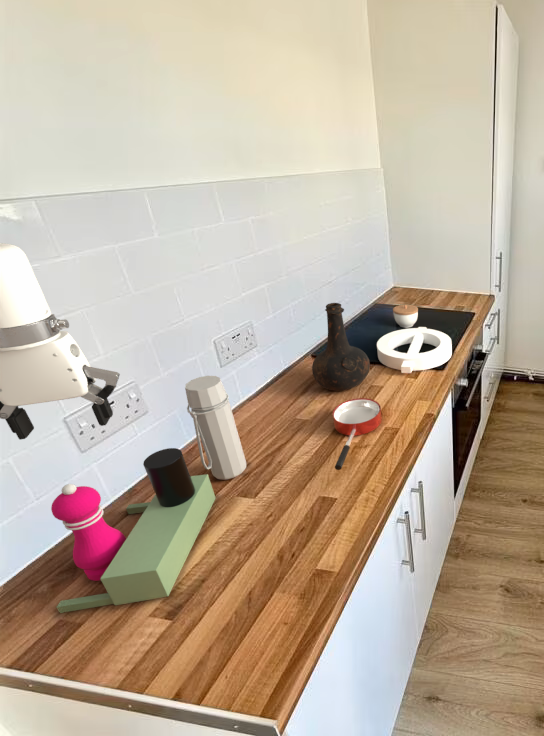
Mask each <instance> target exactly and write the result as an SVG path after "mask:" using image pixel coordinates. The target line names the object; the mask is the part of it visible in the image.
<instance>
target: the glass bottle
mask: <svg viewBox="0 0 544 736" xmlns="http://www.w3.org/2000/svg"><path fill="white" fill-rule="evenodd" d="M324 311H325V312H326V320H327V341H326V342H327V343H326V347H325V349H324V350H322V351H321V352H319V353H318V354H317V355H316V357H315V358H314V360H313V362H312V365H311V373H312V376H313V378H314V379H315V381H316V383H317V384H319V385H320V387H322V388H324V389H327V390H330V391H335V392H337V391H338V392H340V391H341V392H342V391H348V390H351V389H353V388H355V387H357V386H359V385H360V384H361V383H363V382H364V380H365V379H366V378H367V376H368V374H369V372H370V367H371V364H370V362H371V361H370V359H369V357H368V355H367V354H366V352H364V350H362V349H361V348H359V347H357V346H353V345H351V344H350V343H349V341H348V337H347V333H346V328H345V322H344V318H343V313H344V311H345V308H343V307H342V304H341V303H340V302H330V303H327V304H326V305H325V309H324Z"/></svg>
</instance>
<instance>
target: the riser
mask: <svg viewBox="0 0 544 736" xmlns="http://www.w3.org/2000/svg"><path fill="white" fill-rule="evenodd" d="M190 477H191V479H192V482H193V485H194V488H195V494H194V495H193V497H192V498H191V499H189V500H188V501H186V502H185V503H183V504H181V505H178V506H174V507H163V506H161V505H160V504H159V501H158V499H157V496H156V494H155V493H154V496H153V497H152V499H151V501H147V502H140V503H131V504H128V505H127V507H126V508H125V509H126V512H127V514H128V515H133V514H140V513H141V516H140V517H139V519H138V520H137V522H136V524H135V525H134V526H133V528H132V530H131V531H130V532H129V534H128V536H127V537H126V540H125V542H124V543H123V545H122V546H121V548H120V549H119V551H118V552H117V554H116V556H115V557H114V559H113V560H112V562H111V563H110V565H109V566H108V568H107V569H106V571H105V572H104V574H103V575H102V577H101V578H100V579H101V580H100V581H101V583H102V585H103V587H104V588H105V590H106V592H105V593H99V594H91V595H87V596H81V597H75V598H69V599H63V600H60V601H59V603H58V604H57V605H56V607H55V608H56V609H57V610H58V612H59V614H62V613H63V614H64V613H68V612H75V611H80V610H86V609H91V608H92V609H93V608H98V607H103V606H109V605H114V606H120V605H121V606H122V605H125V604H132V603H137V602H144V601H150V600H155V599H161V598H167V597H169V596H170V594H171V591H172V590H173V587H174V586H175V584H176V581H177V579H178V577H179V575H180V573H181V571H182V569H183V567H184V565H185V563H186V560H187V558H188V557H189V554H190V552H191V550H192V548H193V546H194V544H195V542H196V540H197V538H198V536H199V534H200V532H201V530H202V527H203V525H204V523H205V522H206V519H207V517H208V515H209V513H210V511H211V509H212V506H213V505H214V503H215V501H216V495H215V492H214V488H213V485H212V483H211V479H210V477H209V474H208V473H206V474H199V475H198V474H197V475H190Z"/></svg>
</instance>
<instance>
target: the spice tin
mask: <svg viewBox="0 0 544 736" xmlns="http://www.w3.org/2000/svg"><path fill="white" fill-rule="evenodd" d="M142 464H143V467H144V470H145V472H146V475H147V477H148V480H149V482H150V484H151V486H152V489H153V492H154V495H155V494H156V496H157V499H158V501H159V504H160V505H161V506H163V507H174V506H178V505H181V504H183V503H185V502H186V501H188V500H189V499H191V498H192V497H193V495H194V494H195V488H194V485H193V482H192V479H191V477H190V476H191V473H190V471H189V468H188V465H187V463H186V460H185V458H184V455H183V452H182V450H181V449H179V448H176V447H170V448H169V447H168V448H164V449H160V450H158V451H155V452H153V453H151V454H150V455H148V456H147V457H146V458H145V459H144V461H143V463H142Z"/></svg>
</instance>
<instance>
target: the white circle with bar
mask: <svg viewBox="0 0 544 736" xmlns="http://www.w3.org/2000/svg"><path fill="white" fill-rule="evenodd" d="M408 344H409V348H408V350H407V352H401V351H398V350H395V349H396V348H398V347H401V346H404V345H408ZM423 344H426V345H427V344H428V345H431V346H434V347H435V348H433V349H431V350H427V351H425V352H420V350H421V348H422V346H423ZM452 345H453V341H452V338H451V337H450V336H449V335H448V334H446V333H444V332H442V331H441V330H437V329H432V328H428V327H426V326H418V327H408V328H403V329H397V330H394V331H391V332H388V333H386V334H384V335H383V336H381V337H380V338H379V339H378V340H377V342H376V349H377V351H376V352H377V358H378V360H379V362H380V363H381V364H382V365H384V366H386V367H388V368H391V369H394V370H398V371H401V374H412V372H414V371H424V370H430V369H433V368H437V367H440V366H442V365H443V364H445V363H447V362H448V361H449V360H450V359H451V357H452V354H453V346H452Z"/></svg>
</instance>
